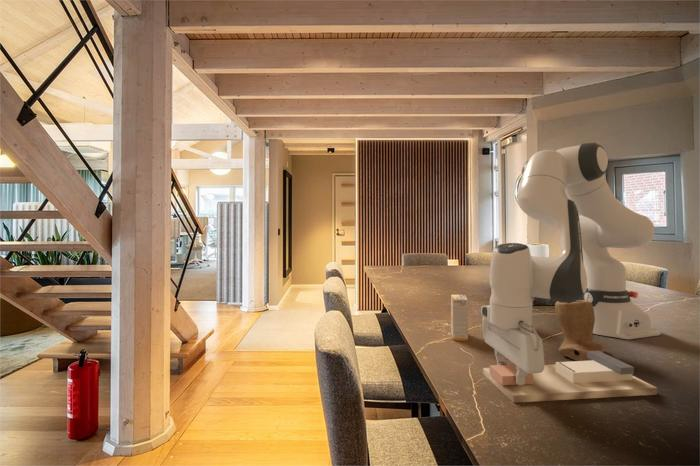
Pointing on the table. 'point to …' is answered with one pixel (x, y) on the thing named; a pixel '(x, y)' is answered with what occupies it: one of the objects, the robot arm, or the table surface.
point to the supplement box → (459, 317)
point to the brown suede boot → (577, 329)
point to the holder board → (569, 387)
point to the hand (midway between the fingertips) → (510, 376)
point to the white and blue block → (595, 369)
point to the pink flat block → (507, 374)
